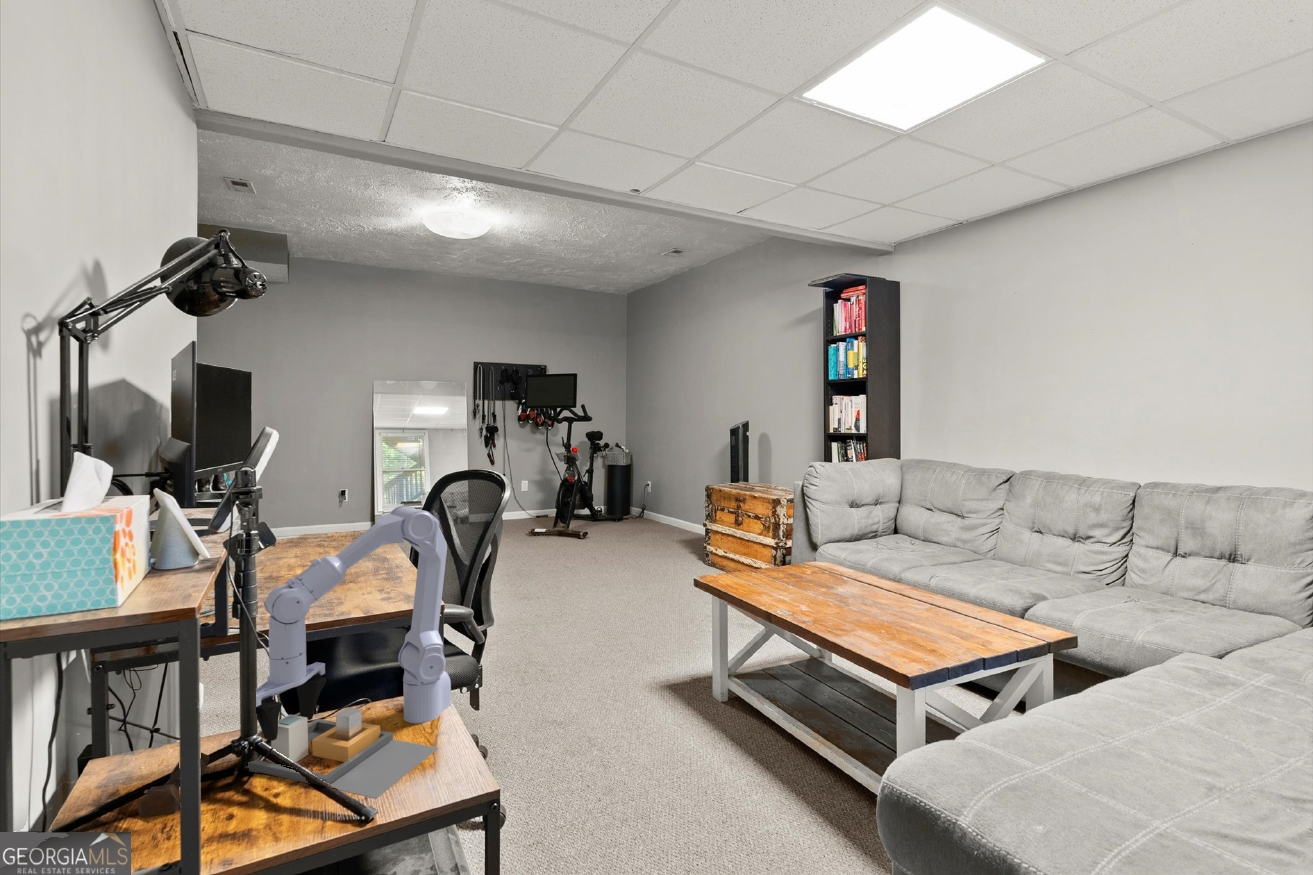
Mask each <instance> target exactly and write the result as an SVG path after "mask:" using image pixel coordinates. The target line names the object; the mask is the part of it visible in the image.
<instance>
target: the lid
mask: <svg viewBox="0 0 1313 875" xmlns="http://www.w3.org/2000/svg"><path fill="white" fill-rule="evenodd" d="M437 750H439V747H437V746H436V747H435V746H429V745H424V744H419V743H414V742H408V741H405V740H398V739H393V740H392V741H390V742H389V743H387V744H386V745H385V746H383V747H382V748H380V749H379V750H378V751H376V752H375V753H373V754H372V755H371V756H369V757H368V758H366V759H365V760H363V761H362V762H361V763H359V764H358V765H356V766H355V767H354V768H352V769H351V770H349V771H348V772H347V773H345V774H344V775H342V776H341V777H340V778H338V779H337V780H335V781H334V782H333V783H331V784H330V785H333V786H334V787H335V788H337V789H338V790H337V791H340V790H341V792H345V793H350V794H353V795H359V796H363V797H367V798H372V799H376V800H377V799H379V797H381V795H383V794H384V793H385V792H386V791H388V790H389V789H391V788H392V787H393V786H394V785H395V784H397V782H399V781H400V780H402V779H403V778H405V777H406V776H407V775H408V774H409V773H410V772H411V771H413V770H414V769H415V768H417V767H418V766H419V765H420V764H421V763H422V762H423V761H425V760H427V758H428V757H429V756H431V755H432V754H434V753H435V752H436V751H437Z"/></svg>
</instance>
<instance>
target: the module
mask: <svg viewBox="0 0 1313 875" xmlns="http://www.w3.org/2000/svg"><path fill="white" fill-rule="evenodd" d="M308 721H309V720H308V719H307V717H301V716H300V715H295V714H288V715H286V716H285V717H282V718H281V719H278V734H277V739H275V740H274V741H271V740H270V741H271V745H272V748H274V749H276V751H277V752H279V753H281V754H283V755H284V756H286V757H287V758H289V759H290V760H292V761H293V762H296V763H297V762H298V761H300V760H302V759H303V758H305V757H307V756H309V742H308V724H309V722H308ZM271 745H270V746H271ZM272 763H273V764H275V763H274V762H272Z"/></svg>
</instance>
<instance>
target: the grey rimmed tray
mask: <svg viewBox="0 0 1313 875" xmlns="http://www.w3.org/2000/svg"><path fill="white" fill-rule="evenodd" d="M392 740H394V733H393V732H391V731H385V730H381V725H378V724H373V723H365V722H362V733H360V734H359V735H357V736H356V737H354V738H353V739H351V740H349V741H348V742H347V741H342V740H337V739H336V721H333V720H332V721H331V720H327V719H323V718H322V719H320V718H316V719H314V720H313V721H311V722H308V743H309V742H311V741H312V742H311V745H312V746H311V747H312V756H313V757H318V758H323V759H327V760H332V761H338V762H342V763H341V764H340V765H338V766H336V767H335V768H334V769H332V770H331V771H329V772H327V774H323V773H319V772H313V771H310V772H311V773H312V774H314V775H315V776H317V778H319V779H322V781H325V782H326V783H329V784H330V785H331V783H333V782H334V781H335V780H337V779H338V778H340V777H341V776H342V775H344V774H345V773H347V772H348V771H349V770H351V769H352V768H354V767H355V766H356V765H358V764H359V763H361V762H362V761H363V760H365V759H366V758H368V757H369V756H371V755H372V754H373V753H375V752H376V751H378V750H379V749H380V748H382V747H383V746H385V745H386V744H387V743H389V742H391V741H392ZM270 746H272V745H270ZM283 766H284V765H282V766H281V764H276V763H272V762H270V761H268V760H265V761H259V760H254V761H251V762H248V768H249V771H248V772H251V773H256V774H258V773H261V774H266V775H270V776H274V777H278V778H282V779H288V780H291V781H292V780H293V781H297V782H302V783H306V784H310V783H308V781H306V779H305V778H304V777H303V776H302V775H301V774H300V773H299V772H296V771H295V770H293V769H289V768H286V767H283Z"/></svg>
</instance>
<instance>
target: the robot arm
mask: <svg viewBox="0 0 1313 875" xmlns="http://www.w3.org/2000/svg"><path fill="white" fill-rule="evenodd" d="M405 541H406V542H407V543H409V544H410V546H412V548H414V549H415V551H417V552H418V559H417V560H418V563H417V571H416V580H415V581H416V582H415V587H414V588H415V589H414V599H413V608H412V619H411V625H410V626H411V627H410V630H409V631H408V632H407V633H406V634H405V636H404V642H403V645H402V647H401V649H400V650H399V652H398V656H397V657H398V663H399V666H401V668H402V669H404V672H403V678H402V682H403V689H402V690H403V691H402V692H403V719H404V720H403V721H405V722H407V723H409V724H424V723H429V722H431V721H432V722H433V720H436V719H437V718H438V717H439V716H441V714H442V713H443V712H444V711H445V710H447V709H448V708H450V707H452V694H451V693H452V692H451V691H452V687H451V686H452V683H451V682H452V681H451V678H450V676H449V674H448V672H447V671H446V670H445V668H446V664H447V661H446V657H445V655H444V642H443V639H442V637H441V634H440V633H439V632H440V631H439V627H440V619H441V618H440V617H441V609H442V607H441V606H442V599H443V598H442V597H443V591H444V581H445V573H446V572H445V571H446V561H447V552H448V544H447V541H446V539H445V536H444V534H443V532H442V530H441V528H440V520H438V519H437V517H435V516H434V515H433V514H432V513H430V511H427V510H422V509H417V508H414V507H411V506H409V505H400V506H399V505H398V506H397V507H395V508H393V509H392V510H391V512H390V513H388V512H387V513H386V514H384V515H383V516H382V517H381V518H379V519H378V521H376V523H375V524H373V525H371V527H370V528H368V529H367V530H366V531H364V532H363V533H362V534H361V535H359V537H356V539H354V540H353V541H352V542H351V543H350V544H348V545H347V546H346V547H344V548H343V549H342V550H341V551H340V552H338V553H337V554H336V555H334V556H329V555H328V556H327V555H326V556H322V557H321V558H317V557H315V558H314V559H312V560H311V561H310V564H311V565H310V566H309V567H307V568H306V569H305V570H303V571H301V572H300V573H299V574H297V575H296V576H295V577H289V578H288V579H286V584H283V585H278V586H276V587H274V588H273V589H271V591H270V592H269V593H267V597H266V599H265V601H264V602H263V606H264V609H265V612H267V613H268V614H269V617H268V618H269V622H268V625H269V630H268V662H269V664H268V665H269V667H268V668H269V670H268V672H269V675H268V676H267V677H266V681H265V682H264V683H263V684H261V685H260V686H259V687H257V688H255V690H256V714H257V718H256V720H257V722H258V724H259V726H260V730H261V732H262V735H263V738H264V740H267V741H274V740H275V739H277V734H278V721H279V716H280V712H281V709H282V706H283V702H281V701H280V702H279V701H276V699H275V698H274V697H277V695H279V694H281V693H284V692H286V691H287V690H290V689H292V688H293V689H294V688H296V692H297V697H298V702H299V704H298V705H299V706H298V707H299V708H298V709H299V716H301V717H307V719H308V721H311V720H313V717H314V714H315V709H316V706H317V704H318V703H317V702H318V700H319V697H320V694H321V692H322V690H323V688H324V687H325V685H326V683H327V678H326V677H325V676H323V675H325V674H326V663H324V662H317V661H316V662H314V663H312V664H308V665H307V629H306V628H307V627H306V616H307V615H308V614H309V611H310V609H311V605H312V604H315V603H316V602H317V601H318V600H320V599H321V598H323V596H325V595H327V593H329V592H330V591H332V590H333V589H334V588H336V587H337V586H338V585H340V584H341V583H342V582H343V581H345V578H346V574H347V571H348V570H349V569H350V568H351V567H354V566H355V565H356V564H358V563H359V562H361V561H362V560H363V559H365V558H366V557H368V556H369V555H370V554H372V553H373V552H375V551H376V550H378V549H379V548H381V547H382V546H383V545H389V544H391V545H392V544H402V543H405Z"/></svg>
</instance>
